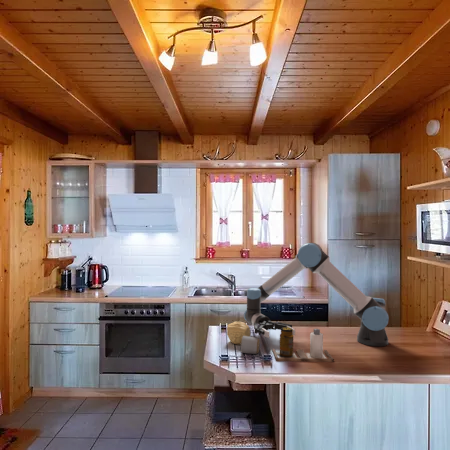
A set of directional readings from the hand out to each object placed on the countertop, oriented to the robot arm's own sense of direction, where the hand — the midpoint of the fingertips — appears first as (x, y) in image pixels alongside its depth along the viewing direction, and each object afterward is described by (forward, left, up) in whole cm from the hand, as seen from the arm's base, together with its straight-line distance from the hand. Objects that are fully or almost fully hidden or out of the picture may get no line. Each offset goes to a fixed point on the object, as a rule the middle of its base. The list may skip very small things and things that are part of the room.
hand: (281, 333), depth 165 cm
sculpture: (+19, -17, -10) cm, 27 cm away
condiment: (-2, +5, -9) cm, 10 cm away
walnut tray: (-8, +5, -10) cm, 14 cm away
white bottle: (-15, +5, -8) cm, 18 cm away
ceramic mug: (+14, -3, -10) cm, 18 cm away
